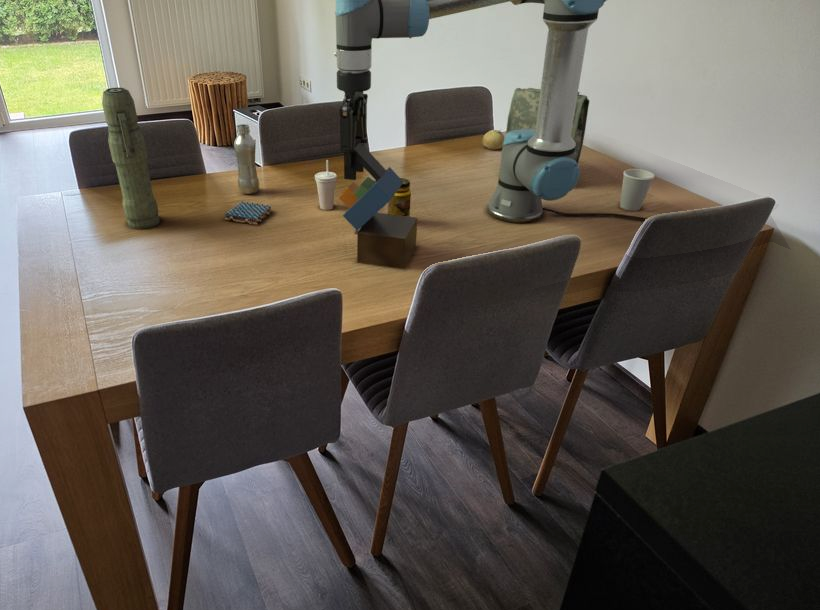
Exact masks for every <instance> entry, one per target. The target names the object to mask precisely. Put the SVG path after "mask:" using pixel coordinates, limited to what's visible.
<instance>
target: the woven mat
mask: <svg viewBox="0 0 820 610" xmlns="http://www.w3.org/2000/svg"><path fill="white" fill-rule="evenodd" d="M271 207H272V206H270V205H269V204H266V205H264V204H259V203H254V202H251V203H249V202H248V201H247V202H244V201H243V200H242V201H241V202H239V203H238V204H236V205H235V206H234V207H232V208H230V210H228V211H227V212H225V216H224V220H225V221H234V222H235V223H248V224H250V225H255V226H258V222H260V223H261V222H262V219H264V218H266V217H267V216H268V215H270V214H271V212H272V211H273V210H272V208H271Z"/></svg>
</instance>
